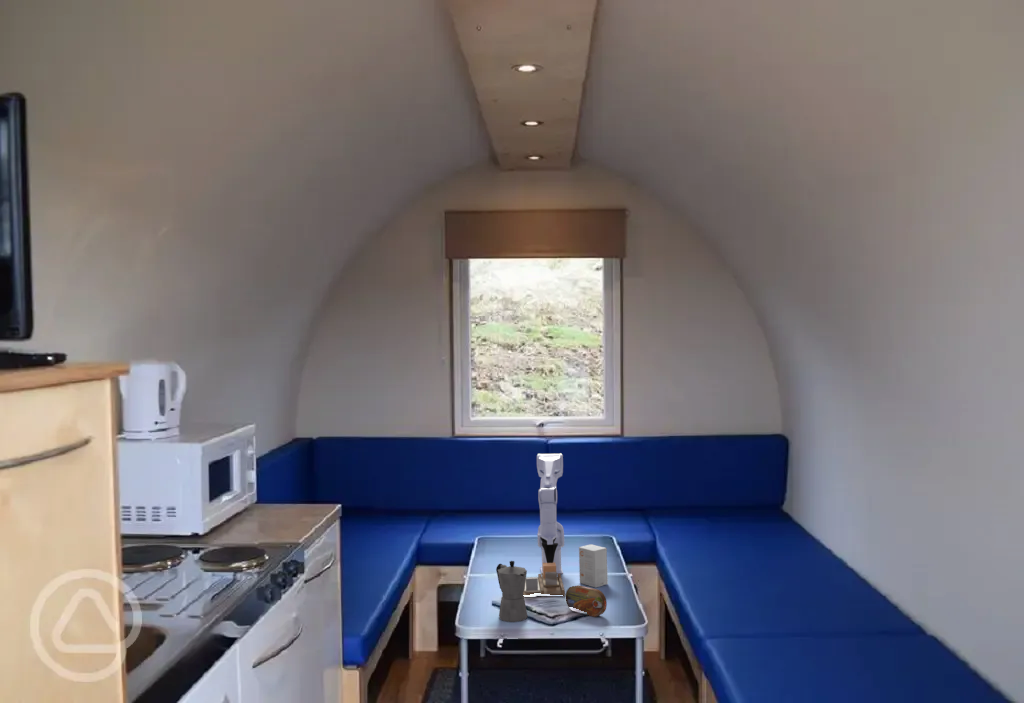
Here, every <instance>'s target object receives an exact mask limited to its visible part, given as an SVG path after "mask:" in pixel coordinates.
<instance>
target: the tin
mask: <svg viewBox="0 0 1024 703" xmlns="http://www.w3.org/2000/svg"><path fill="white" fill-rule="evenodd" d="M564 597H565V602H566V605H567V607H568V608H569V607H573V608H576V609H579V610H581V611H584V612H587V614H588V615H589V616H588V615H587V616H588V617H593V618H596V617H598V616H600V615H603V614H604V613H605V612H606V610H607V605H608V604H607V602H608V601H607V597H606V596H605V594H604V593H603V591H601V590H600V589H599V588H598V589H597V588H594V587H590V586H585V585H584V586H583V585H573V586H570V587H569V588H567V590H566V591H565V596H564Z"/></svg>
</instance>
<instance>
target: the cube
mask: <svg viewBox="0 0 1024 703" xmlns="http://www.w3.org/2000/svg"><path fill="white" fill-rule="evenodd" d="M545 572H556V564H555V562H553V563H543V577H544V579H545Z"/></svg>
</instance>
